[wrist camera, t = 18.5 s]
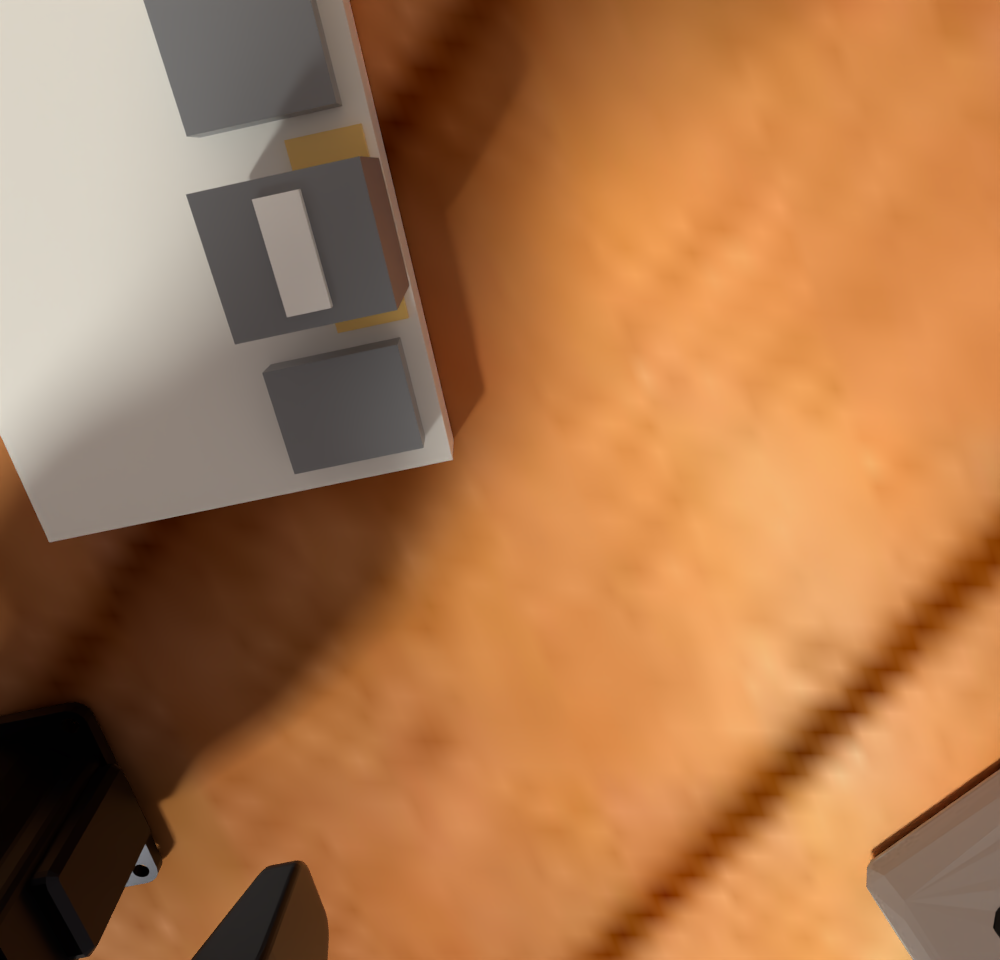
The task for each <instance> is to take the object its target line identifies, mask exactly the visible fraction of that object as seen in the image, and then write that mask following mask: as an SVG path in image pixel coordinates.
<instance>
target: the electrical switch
mask: <svg viewBox="0 0 1000 960" xmlns="http://www.w3.org/2000/svg"><path fill="white" fill-rule="evenodd" d="M866 887H867V889H868V890H869V892H870V893H871V895H872V897H873V898H874V900H875V901H876V903H877V904H878V906H879V908H880V909H881V911H882V912H883V914H884V916H885V917H886V919H887V920H888V922H889V923H890V925H891V927H892V928H893V930H894V931H895V933H896V934H897V936H898V937H899V939H900V941H901V942H902V944H903V945H904V947H905V948H906V950H907V951H908V953H909V954H910V956H911V957H912V959H913V960H1000V769H999V770H998V771H996V772H995V773H993V774H992V775H991V776H989V777H988V778H986V779H985V780H984V781H982V782H981V783H979V784H978V785H977V786H975V787H974V788H972V789H971V790H969V791H968V792H967V793H965V794H964V795H962V796H961V797H960V798H958V799H957V800H955V801H954V802H953V803H951V804H950V805H948V806H947V807H946V808H944V809H943V810H941V811H940V812H938V813H937V814H936V815H934V816H933V817H931V818H930V819H929V820H927V821H926V822H924V823H923V824H922V825H920V826H919V827H917V828H916V829H914V830H913V831H912V832H910V833H909V834H907V835H906V836H905V837H903V838H902V839H900V840H899V841H898V842H896V843H895V844H893V845H892V846H891V847H889V848H888V849H886V850H885V851H883V852H882V853H881V854H879V855H878V856H876V857H875V858H874V859H872V860H871V862H870V863H869V865H868V867H867V885H866Z"/></svg>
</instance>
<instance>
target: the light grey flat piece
mask: <svg viewBox="0 0 1000 960" xmlns="http://www.w3.org/2000/svg"><path fill="white" fill-rule="evenodd" d="M358 156H363V157H375V158H379V160H380V165H381V169H382V173H383V177H384V181H385V185H386V190H387V194H388V198H389V202H390V206H391V210H392V215H393V219H394V223H395V227H396V231H397V235H398V240H399V244H400V248H401V252H402V256H403V260H404V264H405V269H406V273H407V277H408V281H409V287H408V289H407V291H406V293H405V296H404V298H403V300H402V302H401V304H400V306H399V308H398V310H395V311H390V312H386V313H381V314H376V315H372V316H367V317H362V318H358V319H353V320H348V321H343V322H339V323H334V324H329V325H325V326H320V327H315V328H310V329H306V330H301V331H296V332H292V333H287V334H282V335H278V336H273V337H268V338H263V339H259V340H254V341H249V342H245V343H240V344H235V343H234V340H233V337H232V334H231V331H230V328H229V325H228V322H227V319H226V316H225V313H224V310H223V307H222V303H221V300H220V297H219V294H218V291H217V288H216V285H215V282H214V279H213V276H212V273H211V270H210V267H209V264H208V261H207V258H206V255H205V252H204V248H203V245H202V242H201V239H200V236H199V233H198V230H197V227H196V224H195V221H194V218H193V215H192V212H191V209H190V206H189V203H188V200H187V197H186V194H190V193H195V192H199V191H204V190H208V189H213V188H217V187H222V186H226V185H231V184H235V183H240V182H245V181H249V180H254V179H258V178H263V177H267V176H272V175H276V174H281V173H285V172H290V171H294V170H299V169H304V168H308V167H313V166H317V165H322V164H326V163H331V162H335V161H340V160H344V159H349V158H353V157H358ZM0 435H1V437H2V440H3V442H4V444H5V446H6V448H7V451H8V453H9V455H10V457H11V459H12V462H13V464H14V466H15V468H16V470H17V473H18V475H19V477H20V479H21V481H22V484H23V486H24V488H25V490H26V492H27V495H28V497H29V499H30V501H31V503H32V506H33V508H34V510H35V512H36V514H37V517H38V519H39V521H40V523H41V525H42V528H43V530H44V532H45V534H46V536H47V539H48V541H49V542H54V541H59V540H64V539H69V538H74V537H79V536H84V535H88V534H93V533H98V532H103V531H108V530H113V529H118V528H123V527H127V526H132V525H137V524H142V523H147V522H152V521H157V520H162V519H167V518H171V517H176V516H181V515H186V514H191V513H196V512H201V511H206V510H211V509H215V508H220V507H225V506H230V505H235V504H240V503H245V502H250V501H254V500H259V499H264V498H269V497H274V496H279V495H284V494H289V493H294V492H298V491H303V490H308V489H313V488H318V487H323V486H328V485H333V484H337V483H342V482H347V481H352V480H357V479H362V478H367V477H372V476H377V475H381V474H386V473H391V472H396V471H401V470H406V469H411V468H416V467H421V466H425V465H430V464H435V463H440V462H445V461H450V460H453V444H454V439H453V435H452V431H451V426H450V422H449V418H448V414H447V410H446V405H445V401H444V397H443V393H442V388H441V384H440V380H439V376H438V372H437V367H436V363H435V359H434V355H433V350H432V346H431V342H430V338H429V334H428V329H427V325H426V321H425V317H424V312H423V308H422V304H421V300H420V296H419V291H418V287H417V283H416V279H415V274H414V270H413V266H412V262H411V258H410V253H409V249H408V245H407V241H406V237H405V232H404V228H403V224H402V220H401V215H400V211H399V207H398V203H397V199H396V194H395V190H394V186H393V182H392V177H391V173H390V169H389V165H388V161H387V156H386V152H385V148H384V144H383V139H382V135H381V131H380V127H379V123H378V118H377V114H376V110H375V106H374V101H373V97H372V93H371V89H370V85H369V80H368V76H367V72H366V68H365V63H364V59H363V55H362V51H361V47H360V42H359V38H358V34H357V30H356V25H355V21H354V17H353V13H352V9H351V4H350V0H0Z"/></svg>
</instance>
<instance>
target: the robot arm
mask: <svg viewBox="0 0 1000 960" xmlns="http://www.w3.org/2000/svg"><path fill="white" fill-rule="evenodd" d="M69 719H73V720H75V721H77V722H78V724H74V723H72V722H70V721H69ZM142 865H145V866H142ZM161 865H162V858H161V855H160V853H159V851H158V849H157V847H156V845H155V843H154V841H153V838H152V836H151V834H150V828H149V826H148V824H147V822H146V819H145V817H144V815H143V813H142V811H141V809H140V807H139V805H138V802H137V800H136V798H135V796H134V794H133V792H132V790H131V788H130V786H129V783H128V781H127V779H126V777H125V775H124V773H123V771H122V769H121V768H120V767H119V766H118V764H117V762H116V760H115V758H114V756H113V754H112V752H111V750H110V748H109V745H108V743H107V741H106V739H105V737H104V735H103V733H102V731H101V728H100V726H99V724H98V722H97V720H96V718H95V716H94V714H93V712H92V711H91V710H90V708H88V707H87V706H85V705H84V704H80V703H77V702H75V703H65V704H60V705H55V706H50V707H45V708H40V709H35V710H30V711H25V712H19V713H14V714H9V715H4V716H0V960H78V959H79V958H84V957H88V956H90V955H91V954H92V952H93V951H94V950H95V948H96V946H97V945H98V943H99V941H100V939H101V937H102V934H103V932H104V930H105V928H106V926H107V924H108V922H109V920H110V918H111V915H112V913H113V911H114V909H115V907H116V905H117V903H118V901H119V899H120V897H121V894H122V892H123V890H124V888H125V887H127V886H133V885H138V884H144V883H148V882H151V881H153V880H154V879H155V878H156V877H157V875H158V872H159V870H160V868H161ZM146 866H147V867H146ZM328 942H329V930H328V920H327V916H326V912H325V909H324V907H323V904H322V902H321V899H320V896H319V894H318V891H317V889H316V886H315V884H314V881H313V878H312V876H311V873H310V871H309V869H308V867H307V865H306V864H305V863H304V862H302V861H292V862H286V863H281V864H276V865H271V866H268V867H266V868H265V869H264V870H263V871H262V872H261V873H260V874H259V875H258V876H257V878H256V879H255V880H254V881H253V883H252V884H251V885H250V886H249V888H248V889H247V890H246V891H245V893H244V894H243V895H242V896H241V898H240V899H239V900H238V901H237V903H236V904H235V905H234V906H233V908H232V909H231V910H230V912H229V913H228V914H227V915H226V917H225V918H224V919H223V920H222V922H221V923H220V924H219V925H218V927H217V928H216V929H215V930H214V932H213V933H212V934H211V935H210V937H209V938H208V939H207V940H206V942H205V943H204V944H203V945H202V947H201V948H200V949H199V951H198V952H197V953H196V954H195V956H194V957H193V958H192V959H191V960H328Z"/></svg>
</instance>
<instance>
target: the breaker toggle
mask: <svg viewBox="0 0 1000 960" xmlns="http://www.w3.org/2000/svg"><path fill="white" fill-rule="evenodd" d="M186 197H187V200H188V203H189V206H190V209H191V212H192V215H193V218H194V221H195V224H196V227H197V230H198V233H199V236H200V239H201V242H202V245H203V248H204V252H205V255H206V258H207V261H208V264H209V267H210V270H211V273H212V276H213V279H214V282H215V285H216V288H217V291H218V294H219V297H220V300H221V303H222V307H223V310H224V313H225V316H226V319H227V322H228V325H229V328H230V331H231V334H232V337H233V340H234V343H235V344H240V343H245V342H249V341H254V340H259V339H263V338H268V337H273V336H278V335H282V334H287V333H292V332H296V331H301V330H306V329H310V328H315V327H320V326H325V325H329V324H334V323H339V322H343V321H348V320H353V319H358V318H362V317H367V316H372V315H376V314H381V313H386V312H390V311H395V310H398V308H399V306H400V304H401V302H402V300H403V298H404V296H405V293H406V291H407V289H408V287H409V281H408V277H407V273H406V269H405V264H404V260H403V256H402V252H401V248H400V244H399V240H398V235H397V231H396V227H395V223H394V219H393V215H392V210H391V206H390V202H389V198H388V194H387V190H386V185H385V181H384V177H383V173H382V169H381V165H380V160H379V158H375V157H363V156H358V157H353V158H349V159H344V160H340V161H335V162H331V163H326V164H322V165H317V166H313V167H308V168H304V169H299V170H294V171H290V172H285V173H281V174H276V175H272V176H267V177H263V178H258V179H254V180H249V181H245V182H240V183H235V184H231V185H226V186H222V187H217V188H213V189H208V190H204V191H199V192H195V193H190V194H186Z"/></svg>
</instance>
